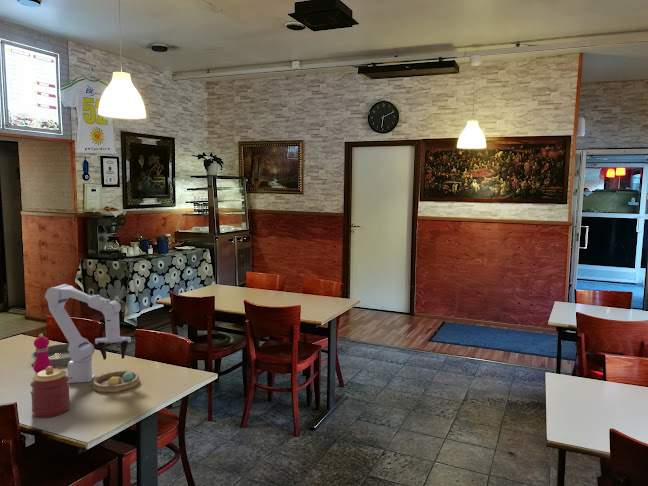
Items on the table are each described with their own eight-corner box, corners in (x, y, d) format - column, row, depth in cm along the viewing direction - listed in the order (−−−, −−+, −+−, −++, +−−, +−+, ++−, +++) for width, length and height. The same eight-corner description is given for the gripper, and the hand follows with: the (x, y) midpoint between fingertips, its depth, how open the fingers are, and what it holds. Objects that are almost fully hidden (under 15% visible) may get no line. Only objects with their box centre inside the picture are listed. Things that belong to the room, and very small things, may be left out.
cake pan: (20, 362, 242) (20, 354, 242) (66, 349, 264) (66, 340, 264) (52, 371, 231) (52, 362, 231) (97, 356, 253) (97, 347, 252)
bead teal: (121, 384, 214) (121, 374, 213) (124, 380, 219) (124, 370, 218) (132, 384, 215) (132, 374, 214) (134, 380, 219) (135, 370, 219)
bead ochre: (106, 389, 208) (106, 379, 208) (109, 385, 213) (108, 375, 212) (117, 389, 209) (117, 378, 209) (120, 384, 214) (120, 374, 213)
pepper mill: (55, 374, 227) (53, 331, 225) (45, 379, 220) (43, 336, 218) (41, 373, 228) (39, 331, 226) (30, 379, 221) (28, 335, 219)
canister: (61, 400, 199) (59, 358, 197) (76, 409, 190) (74, 365, 189) (26, 411, 189) (23, 366, 187) (40, 421, 180) (37, 375, 179)
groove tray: (87, 393, 206) (87, 387, 205) (100, 377, 224) (100, 371, 223) (133, 391, 208) (133, 385, 208) (142, 375, 227) (142, 369, 226)
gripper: (92, 331, 212) (94, 362, 213) (127, 330, 214) (129, 360, 216) (97, 327, 219) (98, 357, 220) (131, 325, 221) (132, 355, 223)
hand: (114, 358), depth 219 cm, fingers open, 7 cm apart
